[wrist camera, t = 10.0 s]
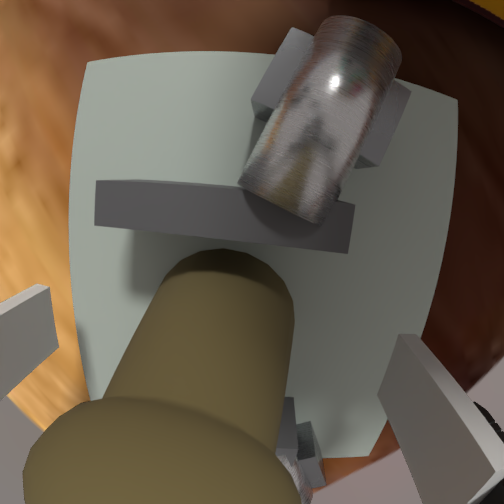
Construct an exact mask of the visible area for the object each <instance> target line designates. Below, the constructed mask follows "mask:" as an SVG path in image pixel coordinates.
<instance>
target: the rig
mask: <svg viewBox="0 0 504 504" xmlns="http://www.w3.org/2000/svg"><path fill="white" fill-rule="evenodd" d="M274 56H275V55H272V54H260V53H246V52H221V51H191V52H167V53H153V54H142V55H132V56H124V57H116V58H109V59H103V60H97V61H91V62H87V67H86V71H85V75H84V80H83V85H82V90H81V95H80V100H79V106H78V112H77V119H76V126H75V133H74V141H73V150H72V161H71V174H70V191H69V256H70V274H71V287H72V298H73V307H74V315H75V323H76V330H77V336H78V343H79V349H80V354H81V360H82V365H83V370H84V374H85V379H86V384H87V388H88V392H89V396H90V400H91V401H93V400H97V399H102V398H103V395H104V393H105V391H106V389H107V387H108V385H109V383H110V381H111V379H112V376H113V374H114V372H115V370H116V368H117V366H118V364H119V362H120V360H121V358H122V356H123V354H124V352H125V350H126V348H127V346H128V344H129V342H130V340H131V338H132V337H133V335H134V333H135V331H136V329H137V327H138V325H139V323H140V321H141V319H142V317H143V316H144V314H145V312H146V310H147V308H148V306H149V304H150V303H151V301H152V299H153V297H154V295H155V293H156V292H157V290H158V288H159V286H160V284H161V283H162V281H163V279H164V277H165V275H166V274H167V273H168V272H169V271H170V270H171V269H172V268H173V267H174V266H175V265H176V264H177V263H178V262H179V261H180V260H182V259H184V258H186V257H188V256H191V255H193V254H195V253H197V252H199V251H204V250H212V249H221V248H225V249H230V250H235V251H240V252H245V253H248V254H250V255H252V256H254V257H256V258H257V259H259V260H261V261H263V262H265V263H267V264H268V265H269V266H270V267H271V268H272V269H273V270H274V271H275V272H276V273H277V274H278V275H279V276H280V277H281V278H282V280H283V281H284V282H285V284H286V286H287V289H288V291H289V293H290V295H291V297H292V300H293V305H294V317H295V325H294V333H293V341H292V349H291V356H290V364H289V371H288V378H287V385H286V392H285V398H284V405H283V411H282V417H281V423H280V429H279V435H278V441H277V447H276V452H275V454H276V456H281V455H286V457H287V459H288V461H289V463H290V465H291V467H292V466H293V463H294V460H295V457H296V455H297V452H298V439H297V428H296V424H300V423H304V422H308V421H311V424H312V427H313V429H314V432H315V435H316V438H317V441H318V444H319V446H320V449H321V453H322V458H342V457H360V456H369V454H370V452H371V450H372V448H373V446H374V445H375V443H376V441H377V439H378V437H379V435H380V433H381V431H382V429H383V427H384V425H385V423H386V421H387V419H388V418H387V416H386V413H385V411H384V409H383V407H382V404H381V402H380V400H379V398H378V396H377V393H378V391H379V388H380V386H381V383H382V380H383V378H384V375H385V372H386V370H387V367H388V364H389V361H390V358H391V355H392V353H393V350H394V347H395V343H396V340H397V337H398V334H417V336H418V337H419V338H420V339H421V336H422V333H423V329H424V326H425V323H426V320H427V317H428V313H429V310H430V307H431V303H432V299H433V296H434V292H435V288H436V284H437V280H438V276H439V272H440V268H441V263H442V259H443V254H444V249H445V244H446V239H447V233H448V227H449V221H450V215H451V208H452V200H453V192H454V183H455V172H456V159H457V139H458V100H456V99H454V98H451V97H449V96H446V95H444V94H441V93H438V92H436V91H433V90H430V89H427V88H424V87H422V86H419V85H416V84H412V83H409V82H406V81H403V80H400V79H396V78H394V80H395V81H397V82H398V83H400V84H401V85H403V86H404V87H406V88H407V89H409V90H410V91H412V92H411V95H410V97H409V100H408V102H407V105H406V107H405V109H404V112H403V114H402V116H401V119H400V121H399V123H398V126H397V128H396V130H395V133H394V135H393V137H392V139H391V142H390V144H389V146H388V148H387V150H386V153H385V155H384V157H383V159H382V161H381V163H380V165H379V166H378V167H370V168H362V169H355V168H353V170H352V172H351V174H350V176H349V178H348V180H347V182H346V184H345V186H344V188H343V190H342V192H341V194H340V196H339V198H338V200H337V201H334V203H333V205H332V206H331V208H330V210H329V212H328V214H327V216H326V218H325V220H324V222H323V224H322V226H318V225H316V224H314V223H312V222H309V221H307V220H305V219H303V218H301V217H299V216H297V215H295V214H293V213H291V212H289V211H287V210H285V209H283V208H281V207H279V206H277V205H275V204H273V203H271V202H269V201H267V200H265V199H264V198H262V197H260V196H258V195H256V194H254V193H252V192H250V191H248V190H247V189H245V188H243V187H241V186H240V185H238V184H237V182H238V180H239V178H240V176H241V174H242V172H243V170H244V168H245V166H246V163H247V161H248V159H249V157H250V155H251V154H252V152H253V150H254V148H255V146H256V144H257V142H258V140H259V138H260V136H261V134H262V132H263V130H264V128H265V126H266V124H267V122H264V121H262V120H260V119H258V118H256V117H254V113H253V108H252V104H251V97H252V96H253V94H254V92H255V90H256V88H257V86H258V85H259V83H260V81H261V79H262V77H263V76H264V74H265V72H266V70H267V68H268V67H269V65H270V63H271V61H272V60H273V58H274Z"/></svg>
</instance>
